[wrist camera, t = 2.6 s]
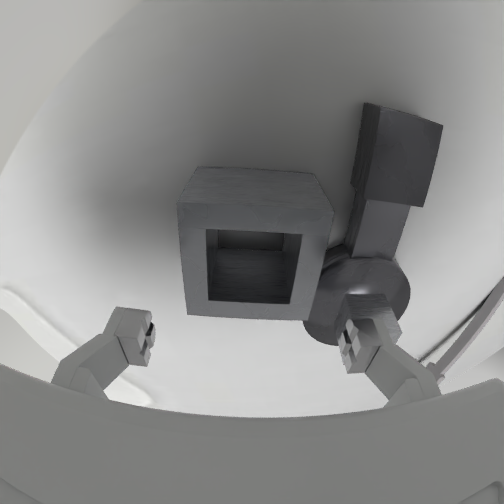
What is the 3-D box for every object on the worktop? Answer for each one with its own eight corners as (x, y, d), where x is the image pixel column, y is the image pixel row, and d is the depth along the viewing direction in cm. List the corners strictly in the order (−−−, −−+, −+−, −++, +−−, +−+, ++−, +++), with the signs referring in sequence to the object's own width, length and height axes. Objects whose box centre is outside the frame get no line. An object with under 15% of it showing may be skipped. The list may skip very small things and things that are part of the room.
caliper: (389, 384, 30) (401, 425, 25) (384, 383, 30) (396, 425, 25) (512, 269, 20) (542, 308, 15) (509, 265, 20) (541, 305, 15)
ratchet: (378, 322, 23) (399, 377, 18) (290, 322, 23) (297, 385, 18) (445, 125, 14) (508, 154, 9) (330, 95, 13) (372, 106, 8)
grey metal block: (197, 166, 16) (176, 202, 12) (313, 173, 16) (334, 211, 12) (200, 261, 19) (187, 314, 15) (297, 266, 20) (307, 320, 15)
